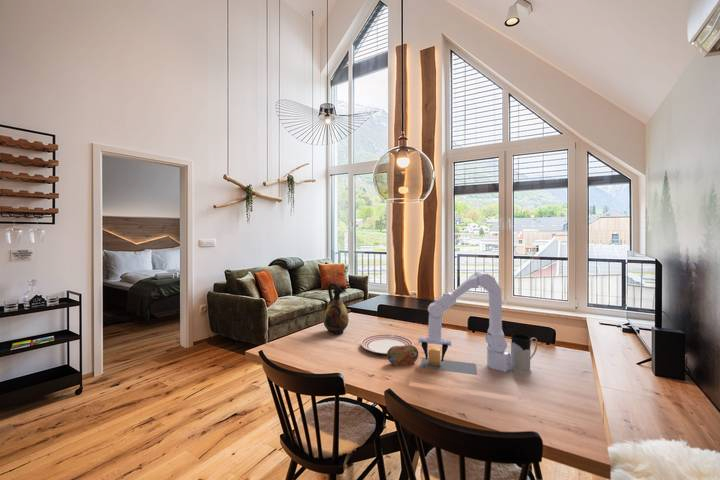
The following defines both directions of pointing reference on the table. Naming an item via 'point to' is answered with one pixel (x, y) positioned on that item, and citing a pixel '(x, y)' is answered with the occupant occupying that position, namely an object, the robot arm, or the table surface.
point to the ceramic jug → (335, 312)
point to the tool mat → (451, 366)
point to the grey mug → (521, 353)
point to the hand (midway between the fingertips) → (434, 359)
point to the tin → (402, 354)
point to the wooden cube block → (434, 356)
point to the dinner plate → (384, 342)
